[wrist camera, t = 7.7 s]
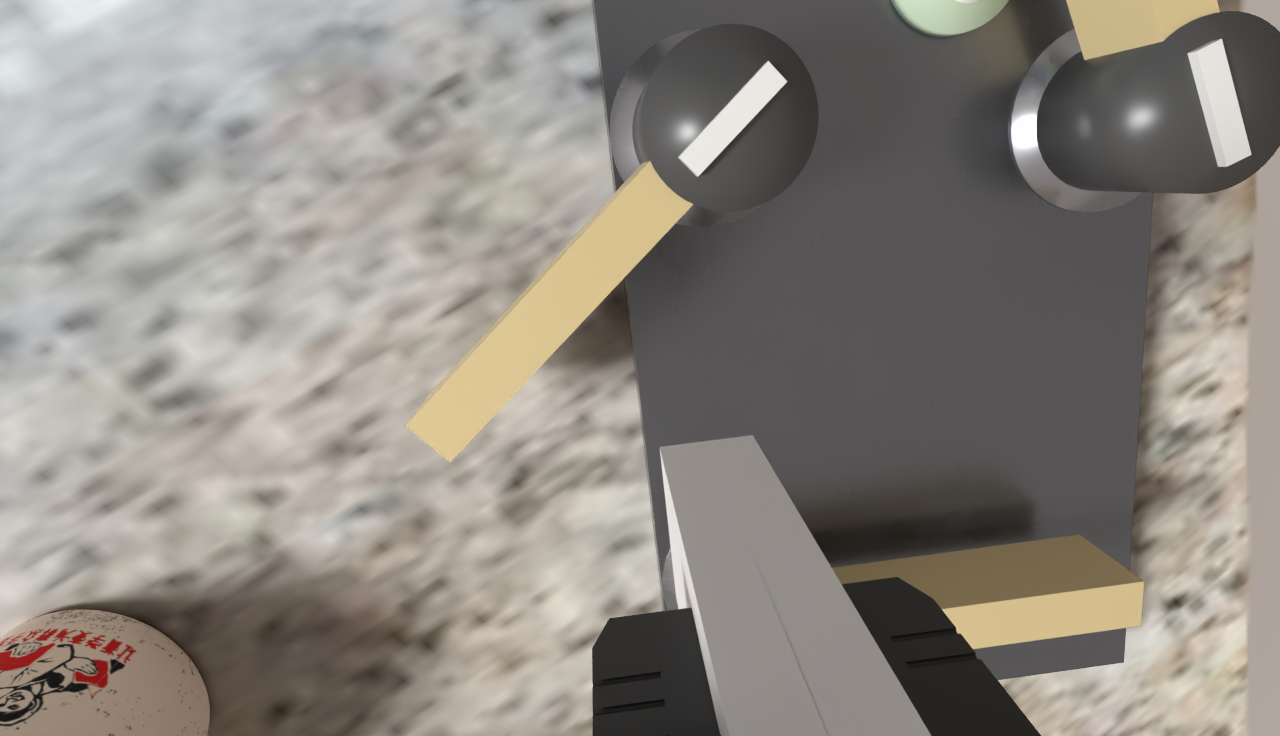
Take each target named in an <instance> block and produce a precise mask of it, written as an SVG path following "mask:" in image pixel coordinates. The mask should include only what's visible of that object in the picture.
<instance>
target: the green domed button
mask: <svg viewBox="0 0 1280 736" xmlns="http://www.w3.org/2000/svg"><path fill="white" fill-rule="evenodd" d="M1008 1H1009V0H891V2H892V4H893V6H894V8H895V10H896V11H897V13H898V14H899V16H900V17H901V18H902V19H903V20H904V21H905V22H906V23H907V24H908V25H910V26H911V27H912V28H914V29H915V30H917V31H919V32H921V33H924V34H926V35H930V36H935V37H951V36H956V35H960V34H963V33H966V32H968V31H971V30H974V29H976V28H978V27H980V26H982V25H984V24H985V23H987V22H988V21H990V20H991V19H992V18H994V17H995V16H996V15H997V14H998V13H999V12H1000V11H1001V10H1002V9H1003V8H1004V6H1005V5H1006V4H1007V2H1008Z"/></svg>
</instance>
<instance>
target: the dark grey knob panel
mask: <svg viewBox="0 0 1280 736" xmlns="http://www.w3.org/2000/svg"><path fill="white" fill-rule="evenodd" d="M592 6H593V14H594V23H595V31H596V40H597V48H598V57H599V66H600V74H601V83H602V91H603V100H604V108H605V117H606V125H607V134H608V143H609V151H610V160H611V168H612V177H613V185H614V193H615V192H616V191H617V190H618V189H619V188H620V187H621V185H622V184H623V183H624V182H625V181H626V180H627V179H628V178H629V177H630V176H631V175H632V174H633V172H634V171H635V170H636V169H637V168H638V167H639V166H640V164H639V162H638V159H637V156H636V153H635V149H634V144H633V136H632V125H633V117H634V111H635V108H636V105H637V102H638V99H639V97H640V95H641V93H642V91H643V89H644V88H645V86H646V84H647V83H648V81H649V79H650V78H651V76H652V74H653V73H654V71H655V69H656V68H657V66H658V64H659V63H660V61H661V60H662V59H663V58H664V56H665V55H666V54H667V53H668V52H669V51H670V50H671V49H672V48H673V47H674V46H675V45H676V44H678V43H679V42H680V41H682V40H683V39H684V38H686V37H687V36H689V35H691V34H693V33H695V32H697V31H699V30H702V29H705V28H707V27H711V26H715V25H721V24H744V25H749V26H754V27H757V28H760V29H763V30H765V31H767V32H769V33H771V34H773V35H775V36H777V37H778V38H780V39H781V40H782V41H784V42H785V43H786V44H787V45H788V46H789V47H790V48H792V49H793V50H794V51H795V53H796V54H797V55H798V56H799V58H800V59H801V60H802V62H803V63H804V65H805V67H806V68H807V70H808V72H809V74H810V76H811V79H812V81H813V84H814V87H815V91H816V94H817V101H818V113H819V120H818V131H817V135H816V140H815V144H814V147H813V149H812V152H811V155H810V157H809V159H808V161H807V163H806V165H805V167H804V168H803V170H802V171H801V173H800V174H799V176H798V177H797V178H796V179H795V180H794V181H793V183H792V184H791V185H790V186H789V187H787V188H786V189H785V190H784V191H783V192H782V193H780V194H779V195H778V196H776V197H775V198H773V199H772V200H770V201H768V202H766V203H764V204H762V205H759V206H757V207H754V208H751V209H746V210H742V211H732V212H725V211H715V210H709V209H705V208H701V207H697V206H694V205H692V206H691V208H690V209H689V210H688V211H687V212H686V213H685V214H684V215H683V216H682V217H681V218H680V219H679V220H678V221H677V222H676V223H675V224H674V226H673V227H672V228H671V229H670V230H669V231H668V232H667V233H666V234H665V235H664V236H663V237H662V238H661V239H660V240H659V241H658V243H657V244H656V245H655V246H654V247H653V248H652V249H651V250H650V251H649V252H648V253H647V254H646V255H645V256H644V257H643V258H642V259H641V261H640V262H639V263H638V264H637V265H636V266H635V267H634V268H633V269H632V270H631V271H630V272H629V273H628V274H627V275H626V276H625V277H624V279H625V288H626V296H627V305H628V313H629V322H630V331H631V339H632V348H633V356H634V365H635V373H636V382H637V390H638V399H639V408H640V416H641V425H642V433H643V442H644V450H645V459H646V467H647V476H648V484H649V493H650V502H651V510H652V519H653V527H654V536H655V544H656V553H657V561H658V570H659V578H660V587H661V596H662V604H663V611H669V610H676V609H678V604H677V599H676V592H675V582H674V573H673V564H672V555H671V546H670V537H669V528H668V519H667V510H666V501H665V492H664V483H663V474H662V465H661V456H660V447H663V446H671V445H679V444H686V443H694V442H702V441H710V440H718V439H726V438H734V437H742V436H749V435H753V436H754V438H755V440H756V442H757V443H758V445H759V447H760V448H761V450H762V452H763V453H764V455H765V457H766V458H767V460H768V462H769V463H770V465H771V467H772V468H773V470H774V472H775V474H776V475H777V477H778V479H779V480H780V482H781V484H782V485H783V487H784V489H785V490H786V492H787V494H788V495H789V497H790V499H791V500H792V502H793V504H794V505H795V507H796V509H797V511H798V512H799V514H800V516H801V517H802V519H803V521H804V522H805V524H806V526H807V527H808V529H809V531H810V532H811V534H812V536H813V537H814V539H815V541H816V543H817V544H818V546H819V548H820V549H821V551H822V553H823V554H824V556H825V558H826V559H827V561H828V563H829V564H830V566H831V568H835V567H842V566H849V565H857V564H864V563H872V562H879V561H887V560H894V559H901V558H909V557H916V556H924V555H931V554H939V553H946V552H954V551H961V550H968V549H976V548H983V547H991V546H998V545H1006V544H1013V543H1020V542H1028V541H1035V540H1043V539H1050V538H1058V537H1065V536H1072V535H1081V536H1082V537H1084V538H1085V539H1086V540H1088V541H1089V542H1091V543H1092V544H1093V545H1095V546H1096V547H1097V548H1099V549H1100V550H1102V551H1103V552H1104V553H1106V554H1107V555H1108V556H1110V557H1111V558H1113V559H1114V560H1115V561H1117V562H1118V563H1119V564H1121V565H1122V566H1123V567H1125V568H1126V569H1128V570H1129V571H1130V555H1131V539H1132V523H1133V506H1134V490H1135V474H1136V458H1137V442H1138V426H1139V410H1140V394H1141V378H1142V362H1143V346H1144V330H1145V314H1146V298H1147V282H1148V266H1149V250H1150V233H1151V217H1152V201H1153V192H1116V191H1088V190H1081V189H1078V188H1074V187H1072V186H1070V185H1068V184H1066V183H1064V182H1063V181H1061V180H1060V179H1058V178H1057V177H1056V176H1055V175H1054V174H1053V173H1052V172H1051V170H1050V169H1049V168H1048V167H1047V165H1046V163H1045V162H1044V160H1043V158H1042V156H1041V153H1040V151H1039V147H1038V143H1037V136H1036V119H1037V112H1038V108H1039V104H1040V101H1041V98H1042V95H1043V93H1044V91H1045V89H1046V87H1047V85H1048V83H1049V82H1050V80H1051V79H1052V77H1053V75H1054V74H1055V73H1056V72H1057V71H1058V69H1059V68H1060V67H1061V66H1062V65H1063V64H1064V63H1065V62H1066V61H1067V60H1069V59H1070V58H1071V57H1073V56H1074V55H1075V54H1077V53H1078V52H1080V51H1081V47H1080V44H1079V41H1078V38H1077V34H1076V31H1075V28H1074V25H1073V21H1072V18H1071V15H1070V11H1069V8H1068V5H1067V2H1066V0H1009V1H1008V2H1007V4H1006V5H1005V6H1004V8H1003V9H1002V10H1001V11H1000V12H999V13H998V14H997V15H996V16H995V17H994V18H992V19H991V20H990V21H988V22H987V23H985V24H984V25H982V26H980V27H978V28H976V29H974V30H971V31H968V32H966V33H963V34H960V35H956V36H951V37H935V36H930V35H926V34H924V33H921V32H919V31H917V30H915V29H914V28H912V27H911V26H910V25H908V24H907V23H906V22H905V21H904V20H903V19H902V18H901V17H900V16H899V14H898V13H897V11H896V10H895V8H894V6H893V4H892V2H891V0H592ZM1125 635H1126V628H1121V629H1114V630H1107V631H1100V632H1093V633H1086V634H1078V635H1071V636H1064V637H1057V638H1050V639H1042V640H1035V641H1028V642H1021V643H1014V644H1007V645H999V646H992V647H985V648H978V649H973V650H974V651H975V652H976V657H977V659H981V660H982V661H983V663H984V664H985V665H986V666H987V668H988V669H989V670H990V671H991V673H992V674H993V675H994V677H995V678H996V679H997V680H1002V679H1009V678H1016V677H1023V676H1030V675H1037V674H1044V673H1052V672H1059V671H1066V670H1073V669H1080V668H1087V667H1094V666H1101V665H1108V664H1115V663H1123V662H1124V651H1125Z"/></svg>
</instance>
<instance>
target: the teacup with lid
mask: <svg viewBox="0 0 1280 736" xmlns="http://www.w3.org/2000/svg"><path fill="white" fill-rule="evenodd" d="M209 722H210V704H209V697H208V694H207V690H206V687H205V684H204V682H203V679H202V677H201V675H200V674H199V672H198V670H197V668H196V667H195V665H194V664H193V662H192V661H191V659H190V658H189V657H188V656H187V654H186V653H185V652H184V651H183V650H182V649H181V648H180V647H179V646H178V645H177V644H175V643H174V642H173V641H172V640H171V639H170V638H168V637H167V636H165V635H164V634H163V633H161V632H159V631H158V630H156V629H155V628H153V627H151V626H149V625H147V624H145V623H143V622H141V621H138V620H136V619H133V618H130V617H127V616H124V615H120V614H116V613H112V612H106V611H99V610H86V609H84V610H66V611H60V612H54V613H50V614H46V615H43V616H39V617H37V618H34V619H32V620H29V621H27V622H25V623H23V624H21V625H19V626H17V627H16V628H14V629H13V630H11V631H10V632H8V633H7V634H5V635H4V636H3V637H2V638H0V736H207V734H208V729H209Z"/></svg>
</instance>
